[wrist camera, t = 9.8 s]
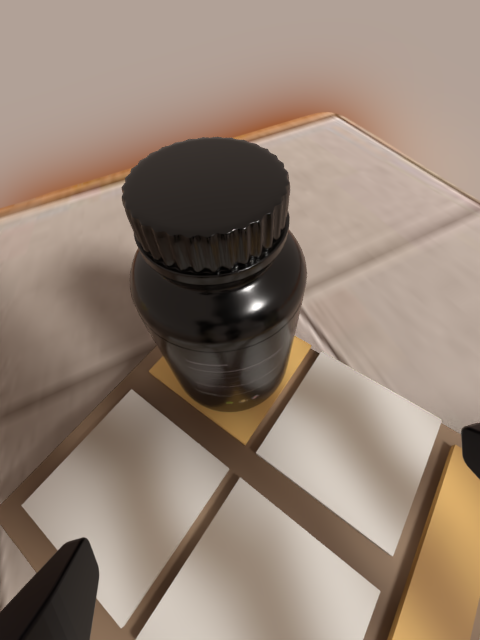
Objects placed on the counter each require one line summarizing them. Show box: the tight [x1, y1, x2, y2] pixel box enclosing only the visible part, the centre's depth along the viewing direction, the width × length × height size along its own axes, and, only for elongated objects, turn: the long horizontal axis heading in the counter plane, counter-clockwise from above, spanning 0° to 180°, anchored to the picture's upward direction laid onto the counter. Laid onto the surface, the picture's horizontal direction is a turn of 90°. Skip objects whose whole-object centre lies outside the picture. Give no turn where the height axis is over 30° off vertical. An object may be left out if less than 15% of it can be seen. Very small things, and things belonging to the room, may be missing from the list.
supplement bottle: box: [122, 137, 307, 412], centre depth 14 cm, size 7×7×12 cm
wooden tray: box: [0, 336, 480, 640], centre depth 15 cm, size 17×20×2 cm
